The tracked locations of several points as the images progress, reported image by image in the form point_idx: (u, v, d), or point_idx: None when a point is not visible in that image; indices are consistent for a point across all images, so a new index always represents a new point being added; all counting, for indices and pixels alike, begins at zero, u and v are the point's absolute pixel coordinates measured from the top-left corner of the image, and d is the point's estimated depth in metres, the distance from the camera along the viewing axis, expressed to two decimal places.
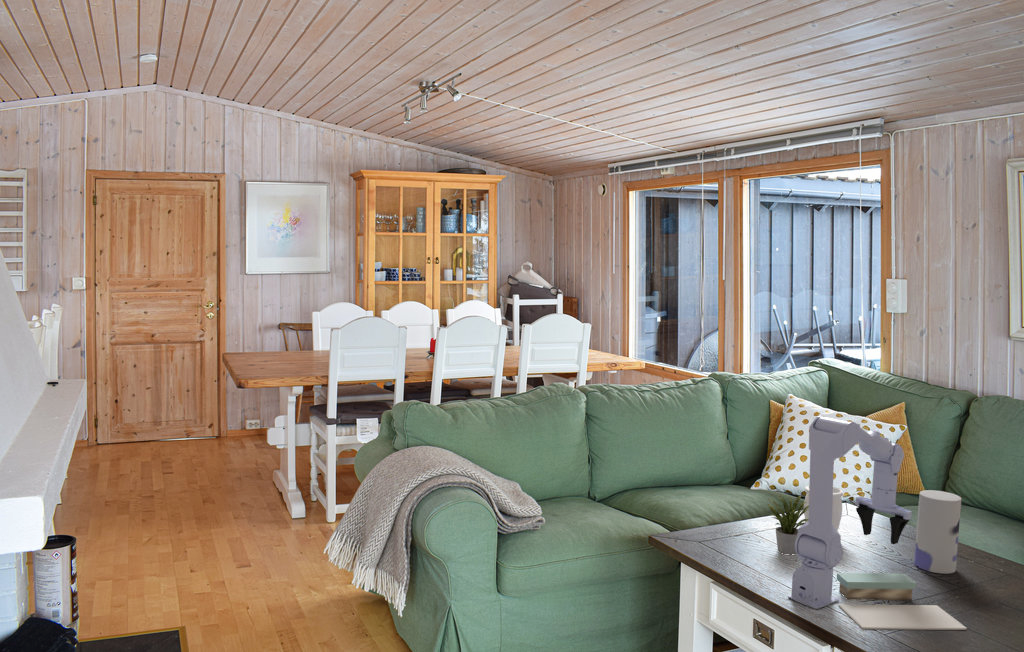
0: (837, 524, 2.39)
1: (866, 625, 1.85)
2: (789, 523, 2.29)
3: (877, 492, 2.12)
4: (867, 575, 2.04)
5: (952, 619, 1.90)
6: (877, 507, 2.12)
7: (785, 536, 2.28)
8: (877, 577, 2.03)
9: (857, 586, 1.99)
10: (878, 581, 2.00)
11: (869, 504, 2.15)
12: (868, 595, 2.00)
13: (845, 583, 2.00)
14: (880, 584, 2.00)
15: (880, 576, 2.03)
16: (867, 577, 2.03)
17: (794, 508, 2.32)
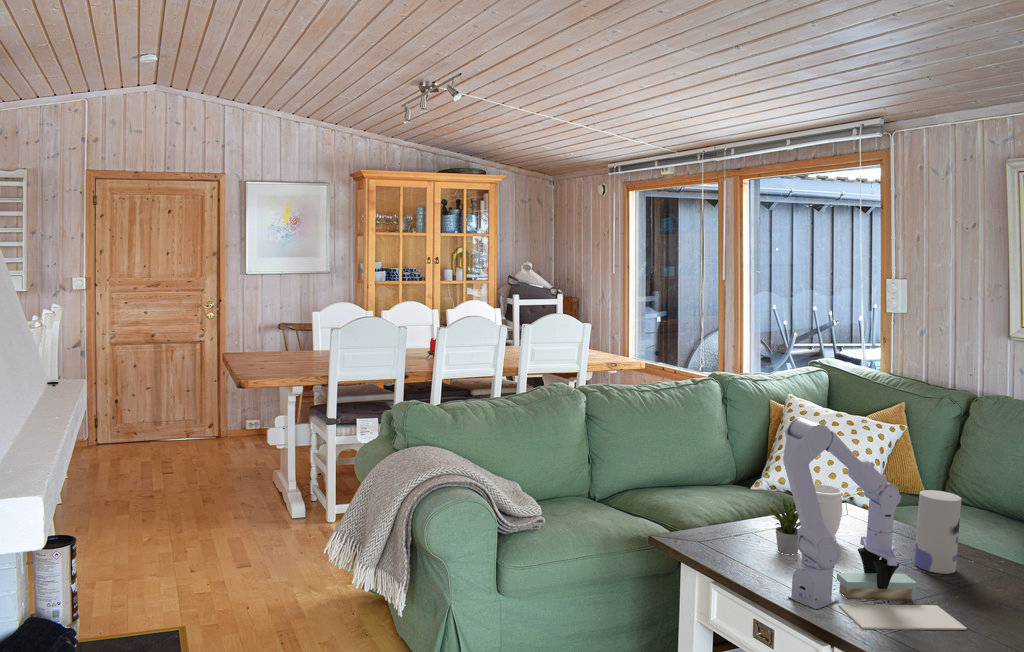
0: (837, 524, 2.39)
1: (866, 625, 1.85)
2: (789, 523, 2.29)
3: (868, 532, 2.01)
4: (867, 575, 2.04)
5: (952, 619, 1.90)
6: (867, 548, 2.01)
7: (785, 536, 2.28)
8: None
9: (857, 586, 1.99)
10: None
11: (864, 544, 2.04)
12: (868, 595, 2.00)
13: (845, 583, 2.00)
14: None
15: None
16: (867, 577, 2.03)
17: (794, 508, 2.32)
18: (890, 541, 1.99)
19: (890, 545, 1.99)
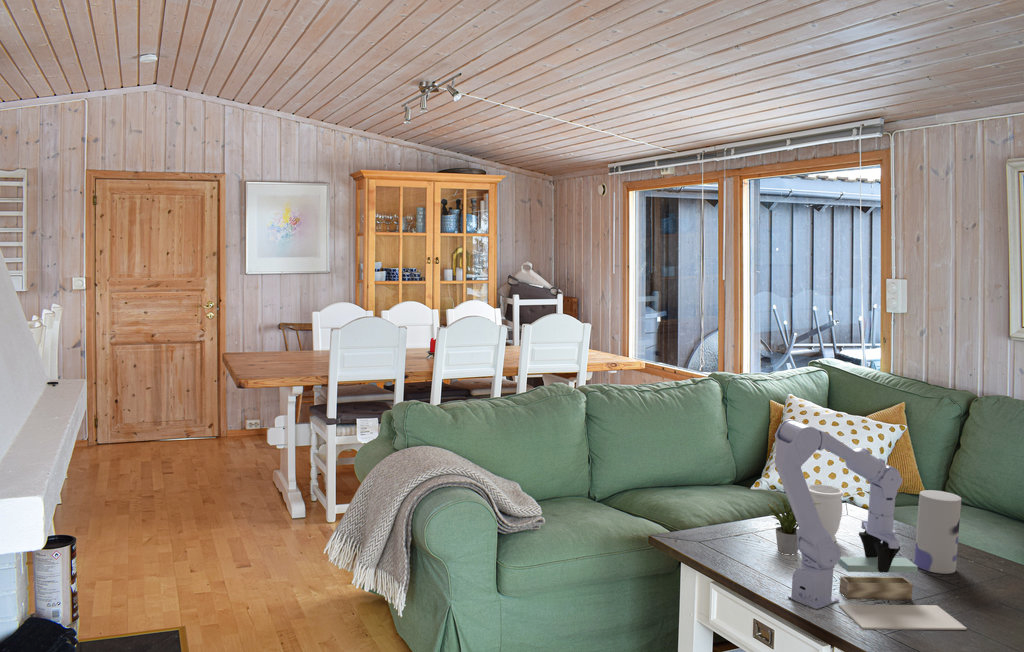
0: (837, 524, 2.39)
1: (866, 625, 1.85)
2: (789, 523, 2.29)
3: (869, 516, 2.01)
4: (868, 559, 2.03)
5: (952, 619, 1.90)
6: (868, 532, 2.01)
7: (785, 536, 2.28)
8: None
9: (858, 569, 1.99)
10: None
11: (865, 528, 2.03)
12: (868, 595, 2.00)
13: (846, 566, 2.00)
14: None
15: None
16: (868, 560, 2.02)
17: None
18: (891, 524, 1.99)
19: (891, 528, 1.99)
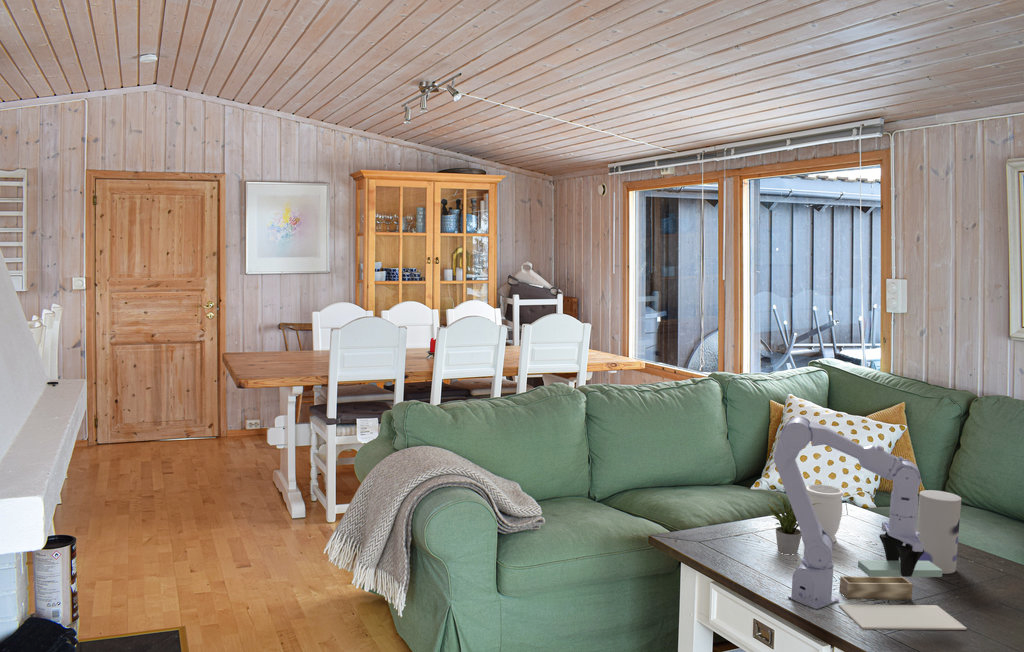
0: (837, 524, 2.39)
1: (866, 625, 1.85)
2: (789, 523, 2.29)
3: (891, 517, 1.91)
4: (890, 562, 1.93)
5: (952, 619, 1.90)
6: (890, 534, 1.91)
7: (785, 536, 2.28)
8: None
9: (880, 574, 1.89)
10: None
11: (886, 530, 1.93)
12: (868, 595, 2.00)
13: (867, 571, 1.90)
14: None
15: None
16: (890, 564, 1.92)
17: None
18: (914, 526, 1.89)
19: (914, 530, 1.89)
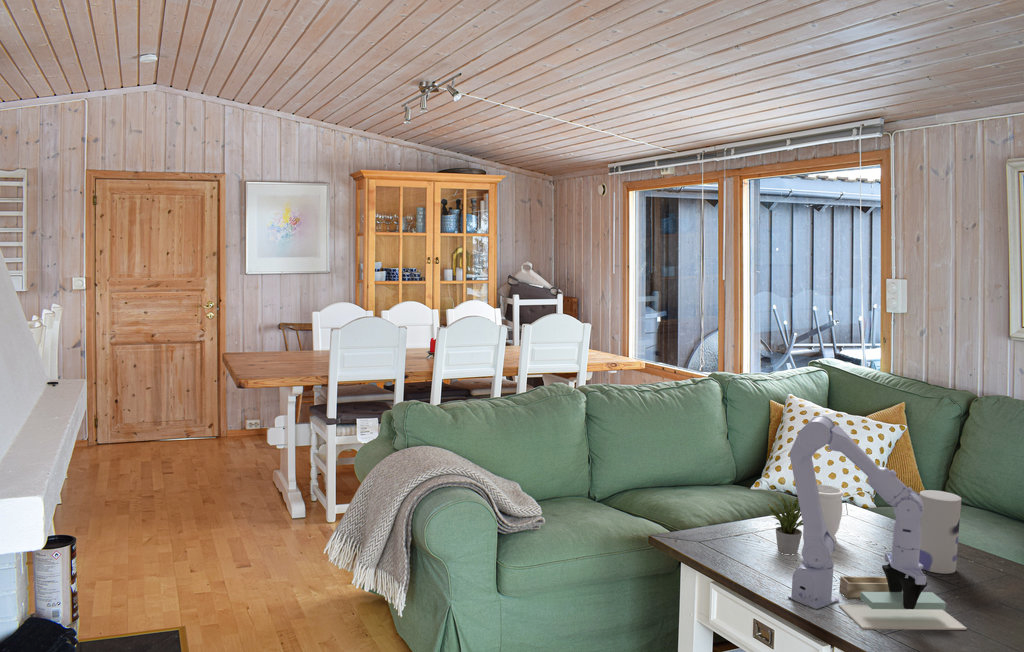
0: (837, 524, 2.39)
1: (866, 625, 1.85)
2: (789, 523, 2.29)
3: (893, 549, 1.89)
4: (893, 594, 1.92)
5: (952, 619, 1.90)
6: (892, 565, 1.89)
7: (785, 536, 2.28)
8: None
9: (882, 606, 1.87)
10: None
11: (889, 561, 1.92)
12: None
13: (870, 603, 1.88)
14: None
15: None
16: (893, 596, 1.91)
17: (794, 508, 2.32)
18: (917, 558, 1.87)
19: (917, 562, 1.87)
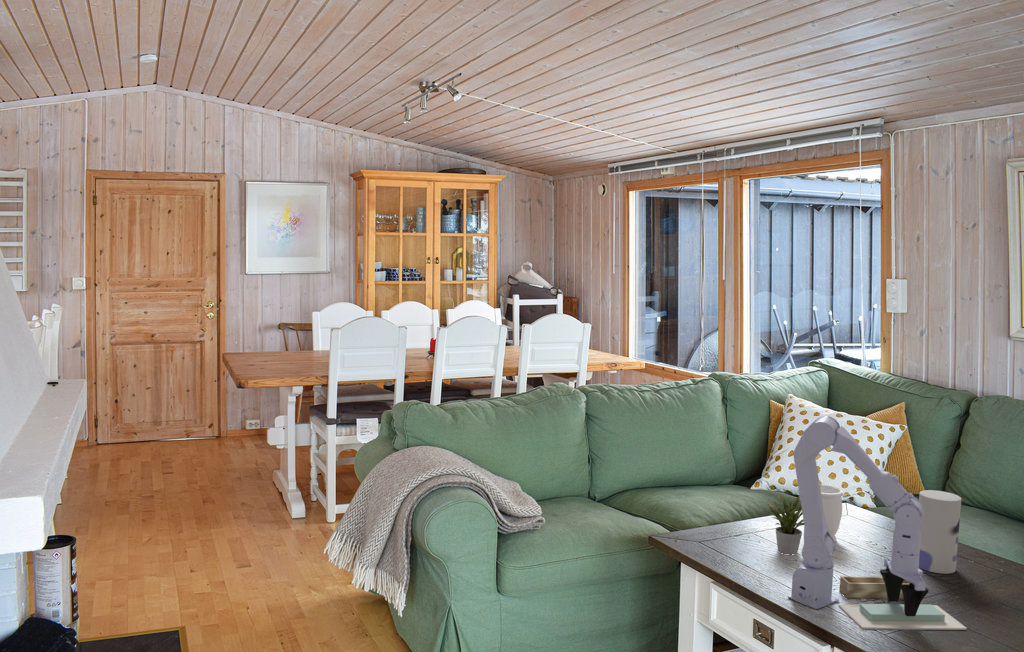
0: (837, 524, 2.39)
1: (866, 625, 1.85)
2: (789, 523, 2.29)
3: (893, 554, 1.89)
4: (892, 606, 1.92)
5: (952, 619, 1.90)
6: (892, 571, 1.89)
7: (785, 536, 2.28)
8: (902, 608, 1.91)
9: (881, 618, 1.88)
10: (904, 613, 1.88)
11: (889, 567, 1.92)
12: (868, 595, 2.00)
13: (869, 615, 1.88)
14: (906, 616, 1.88)
15: None
16: (892, 608, 1.91)
17: (794, 508, 2.32)
18: (917, 564, 1.87)
19: (917, 568, 1.88)
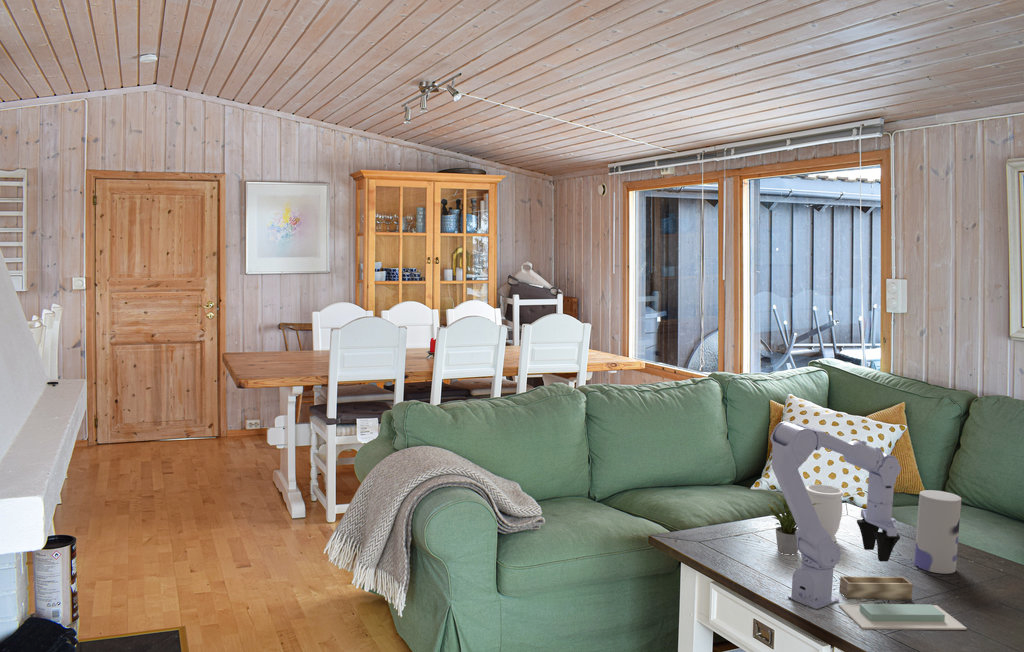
0: (837, 524, 2.39)
1: (866, 625, 1.85)
2: (789, 523, 2.29)
3: (868, 504, 2.01)
4: (892, 606, 1.92)
5: (952, 619, 1.90)
6: (866, 520, 2.01)
7: (785, 536, 2.28)
8: (902, 608, 1.91)
9: (881, 618, 1.88)
10: (904, 613, 1.88)
11: (864, 516, 2.04)
12: (868, 595, 2.00)
13: (869, 615, 1.88)
14: (906, 616, 1.88)
15: (906, 607, 1.91)
16: (892, 608, 1.91)
17: None
18: (890, 512, 1.99)
19: (890, 516, 1.99)
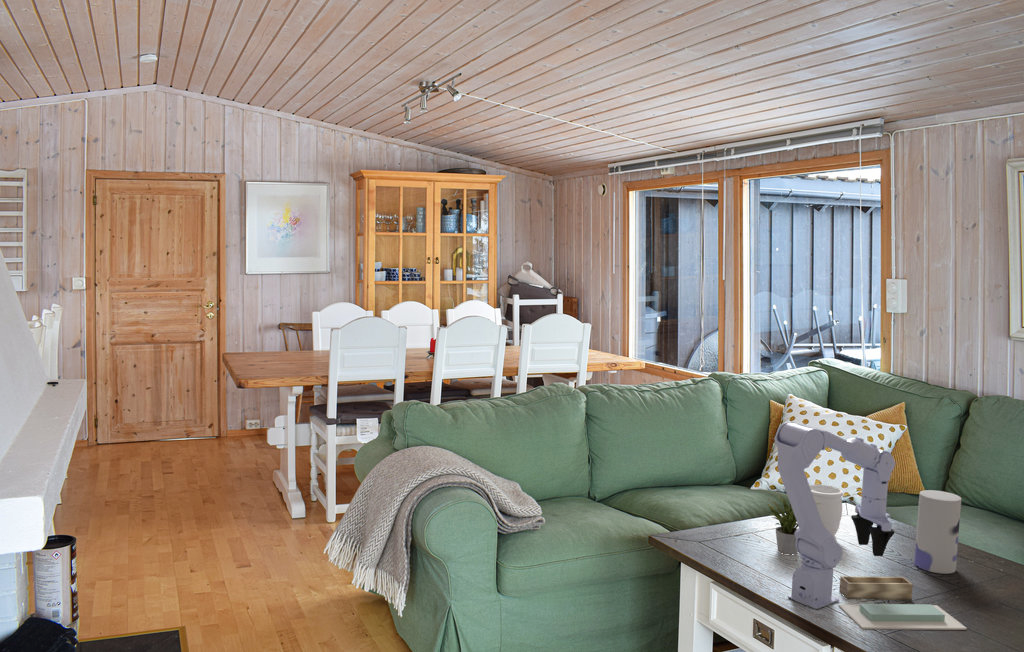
0: (837, 524, 2.39)
1: (866, 625, 1.85)
2: (789, 523, 2.29)
3: (862, 499, 2.04)
4: (892, 606, 1.92)
5: (952, 619, 1.90)
6: (861, 515, 2.04)
7: (785, 536, 2.28)
8: (902, 608, 1.91)
9: (881, 618, 1.88)
10: (904, 613, 1.88)
11: (859, 512, 2.06)
12: (868, 595, 2.00)
13: (869, 615, 1.88)
14: (906, 616, 1.88)
15: (906, 607, 1.91)
16: (892, 608, 1.91)
17: None
18: (884, 508, 2.02)
19: (884, 512, 2.02)
